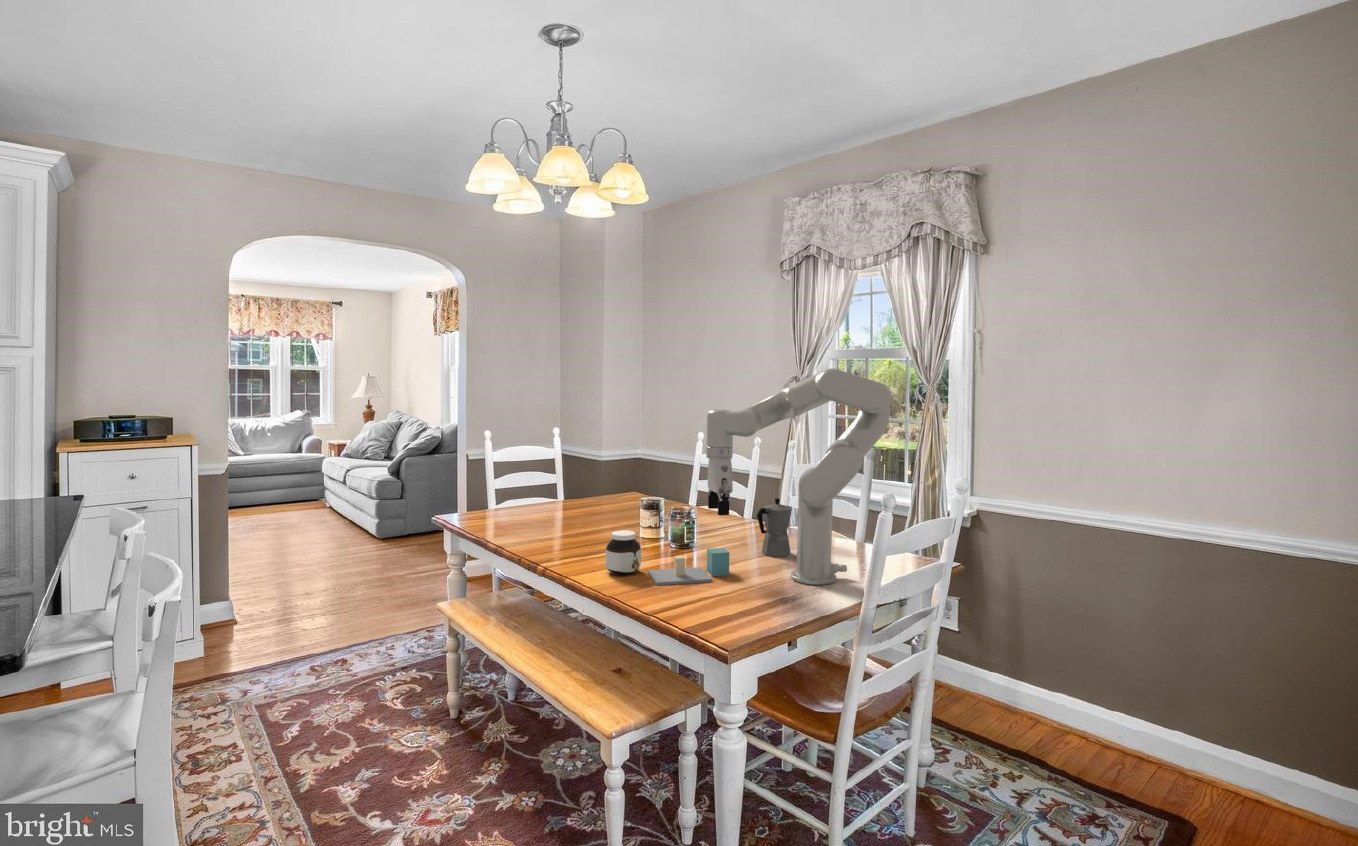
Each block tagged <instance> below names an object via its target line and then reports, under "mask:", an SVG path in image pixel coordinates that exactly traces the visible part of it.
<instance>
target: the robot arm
mask: <svg viewBox="0 0 1358 846" xmlns="http://www.w3.org/2000/svg"><path fill="white" fill-rule="evenodd" d="M891 397H892V395H891V391H890V389H889V388H888V387H887V386H886V385H885V384H884V383H882V382H880V381H876V380H873V379H870V378H865V377H863V376H859V375H856V374H852V373H850V372H847V371H844V370H841V369H839V368H827V369H824V370H822V371H819V372H818V373H816V374H813V375H812V376H810V377H807V378H804V379H803V380H801V381H799V382H796V383H795V384H792V385H790V386H788V387H786V388H783V389H781V390H780V391H779V392H777V393H776V394H774V395H772V396H770V397H768V398H766V399H764V400H761V401H760V402H757V403H755V404H752V405H751V406H749V407H747V408H744V409H741V410H738V411H737V410H736V411H731V410H729V409H712V410H709V411H708V412H707V415H706V452H705V453H706V454H705V455H706V459H708V465H707V487H708V492H707V493H708V496H707V498H708V499H707V501H708V502H707V508H708V509H709V510H711V509H713V510H714V509H717V515H718V516H729V515H730V501H731V500H730V496H731V494H732V493H733V490H734V489H733V488H734V487H733V485H734V484H733V467H732V466H733V465H732V459H733V453H734V452H733V451H734V450H733V448H734V447H733V445H734V441H733V440H734V439H733V438H734V436H736V437H743V438H748V437H752V436H754V435H755V434H756V433H757V432H759V431H761V430H762V429H764V428H768V427H769V426H772V425H774V424H776V423H778V422H781V421H784V420H787V419H792V418H796V417H799V416H800V415H803V414H805V413H807V412H810V411H811V410H814V409H816V408H819V407H821V406H823V405H825V404H828V403H830V402H835V403H837V404H839V405H843V406H846V407H849V408H852V409H856V410H858V414H857V415H856V417H855V419H854V420H853V421H852V422H851V424H850V425H849V426H848V427H847V428H846V429H845V430H844V431H843V433H841V435H840V436H839V437H838V438H837V439H836V440H835V441H833V443H831V444H830V445H829V446H828V448H827V449H826V451H825V455H824V456H823V457H822V458H821V459H820V460H819V461H818V462H817V463H816V464H815V466H814V467H811V468H807V469H806V470H805V471H803V473H801V475H800V477H799V479H798V487H797V488H798V490H797V491H798V500H797V501H798V504H797V506H798V509H797V536H796V537H797V541H796V543H797V544H796V545H797V547H796V569H795V570H792V571H791V573H790V578H791V579H792V580H793V581H795V582H797V583H800V584H805V585H817V586H823V585H829V584H834V583H835V582H837V575H836V574H837V573H838V572H840V573H843V572H844V573H845V572H847V570H848V567H847V565H846V564H839V563H833V562H832V542H833V541H832V538H833V537H832V536H833V535H832V533H833V508H834V507H833V504H834V503H833V502H834V499H835V498H836V497H837V496H838V495H839V494H840V492H842V491H843V490H844V489H845V488H846V487H847V485H848V484H849V483H850V482H851V481H852V480H853V479H854V478H855V476H857V474H858V473H859V472H860V470H861V468H862V464H863V458H864V457H865V456H866V455H867V454H868V453H869V452H870V450H871V449H872V448H873V447H874V446H875V445H876V444H877V442H878V441H880V439H881V438H882V436H883V435H884V434H885V432H886V431H887V428H888V426H889V423H890V415H891V407H890V403H891V400H892V398H891Z"/></svg>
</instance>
